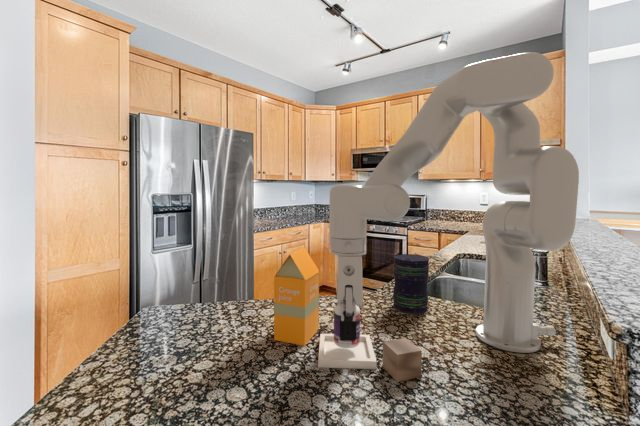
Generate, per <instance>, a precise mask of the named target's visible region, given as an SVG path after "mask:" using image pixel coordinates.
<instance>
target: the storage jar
mask: <svg viewBox="0 0 640 426" xmlns="http://www.w3.org/2000/svg"><path fill="white" fill-rule="evenodd" d="M393 258H394V260H393V261H394V262H393V275H394V276H393V277H394V285H393V286H394V287H393V293H392V298H393V299H392V300H393V304H392V307H393V309H394V310H396V311H398V312H400V313H404V314H408V315H420V314H422V315H423V314H425V313H427V312H428V303H429V290H428V279H429V276H430V275H429V274H430V273H429V272H430V267H429V265H430V263H429V261H430V258H429V257H428V256H425V255H419V254H413V253H412V254H410V253H408V254H407V253H404V254H403V253H401V254H396V255H394V257H393Z"/></svg>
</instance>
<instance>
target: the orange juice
mask: <svg viewBox="0 0 640 426" xmlns="http://www.w3.org/2000/svg"><path fill="white" fill-rule="evenodd" d="M319 290H320V270H319V268H318V266H317V265H316V264H315V262H314V260H313V258H312V257H311V255H310V253H309V251H308V250H307V249H306V247H302V248H299V249H297V250H294V251H292V252H289V254H288V256H287V257H286V258H285V260H284V262H283V263H282V265H281V266H280V268H279V269H278V271H277V272H276V274H275V275H274V276H273V327H274V328H273V334H274V335H273V337H274V338H273V340H274V341H277V342H284V343H289V344H293V345H298V346H304V347H305V346H306V345H307V344H308V343H309V342H310V340H311V339H312V338H313V337H314V336H315V335H316V333H318V331H319V330H320V329H319V327H320V326H319V325H320V324H319V323H320V320H319V319H320V317H319V316H320V315H319V313H320V312H319V311H320V310H319V307H320V291H319ZM318 329H319V330H318ZM317 330H318V331H317Z"/></svg>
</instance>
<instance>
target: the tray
mask: <svg viewBox="0 0 640 426" xmlns="http://www.w3.org/2000/svg"><path fill="white" fill-rule="evenodd" d="M319 335H320V336H319V345H318V347H319V348H318V360H317V368H326V369H327V368H328V369H358V370H362V369H363V370H377V365H378V364H377V362H378V361H377V358H376V354H375V351H374V350H375V349H374V346H373V343H372V340H371V336H370V334H360V343H359V345H358V346H356V347H354V348H342V347H339V346H337V345H336V344H335V343H334V333H320V334H319Z"/></svg>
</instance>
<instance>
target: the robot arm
mask: <svg viewBox="0 0 640 426" xmlns="http://www.w3.org/2000/svg"><path fill="white" fill-rule="evenodd" d="M554 72H555V70H554V66H553V64H552V62H551V61H550V59H549V58H548V57H547V56H546V55H544V54H542V53H539V52H535V51H533V52H532V51H531V52H530V51H528V52H521V53H516V54H512V55H508V56H507V55H506V56H501V57H496V58H491V59H486V60H482V61H478V62H473V63H469V64H468V65H465V66H464V67H461V68H460V69H459V70H457V71H456V72H453V73H452V74H451V75H449V76H448V77H446V78H445V79H444V80H442V81H441V82H439V83H438V84H437V85H436V86H435V87H434V89H433V90H432V91H431V93H430V94H429V96H428V97H427V98H426V100H425V102H424V104H423V105H422V106H421V108H420V109H419V111H418V112H417V114H416V116H415V117H414V119H413V120H412V121H411V122H410V125H409V126H408V128H407V129H406V130H405V131H404V134H403V135H402V136H401V137H400V138H399V139H398V140H397V142H395V144H394V146H392V148H391V149H390V150H389V151H388V152H387V154H386V155H385V156H384V157H383V159H381V161H380V162H378V164H377V166H376V167H375V168H374V170H373V171H372V173H371V174H370V175H369V177H368V179H367V180H366V182H365V183H364V185H362V184H335V185H333V186H332V187H331V188H330V190H329V221H328V222H329V228H328V229H329V233H328V234H329V236H328V237H329V239H328V240H329V245H328V246H329V249H328V251H329V254H331V255H332V256H334V265H335V266H334V269H335V271H334V272H335V273H334V274H335V277H334V278H335V279H334V280H335V290H336V291H335V292H336V301H337V300H338V303H337V305H338V304H339V305H340V306H341V319H340V340H343V341H355V340H356V320H355V302H356V306H358V307H359V308H360V307H363V305H364V296H363V258H362V256H365V255H367V241H368V240H367V239H368V238H367V237H368V236H367V235H368V234H367V230H368V229H367V228H368V225H367V224H368V221H367V220H371V221H373V220H374V221H381V222H394V221H395V222H396V221H398V220H400V219H402V218H403V217H405V215H406V214H407V213H408V211H409V210H410V207H411V199H410V198H411V197H410V196H409V193H408V192H407V191H406V189H405V188H403V187H402V186H403V184H405V182H406V181H408V180H409V179H410V178H411V177H412V176H413V175H414V174H415V173H417V172H419V171H420V170H422V169H423V168H425V167H427V166H429V165H430V164H431V163H433V162H434V161H435V160H436V159H437V158H438V157H439V156H440V155H441V153H442V152H443V151H444V149H445V148H446V146H447V145H448V143H449V141H450V140H451V138H452V137H453V135H454V134H455V132H456V130H457V129H458V128H459V126H460V124H461V123H462V121H463V120H464V119H465V117H467V116H468V115H470V114H473V113H475V112H477V111H478V112H479V114H481V115H482V116H483V117H484V118H485V119H486V120H487V121H488V123H489V124H490V126H491V128H492V129H493V134H494V135H493V137H494V142H493V144H494V147H493V148H494V149H493V161H492V162H493V164H492V184H493V186H494V188H495V190H496V191H497V192H499V193H501V194H503V195H508V196H509V195H511V196H529V201H525V200H505V201H500V202H497V203H495V204H492V205H491V206H490V207H488V209H486V211H485V212H484V215H483V217H482V222H481V223H482V232H483V237H484V244H485V245H484V246H485V272H484V295H483V296H484V299H483V301H484V303H483V323H482V324H479V325H477V326H476V328H475V335H476V337H477V338H478V339H479V340H481V341H482V342H484V343H485V344H486V345H489V346H492V347H494V348H497V349H499V350H503V351H508V352H512V353H521V354H531V353H534V352H538V351H539V350H540V349H541V345H542V344H541V343H542V342H541V340H540V339H539V338H538V337H541V336H542V335H543V336H556V334H557V333H556V328H555V327H554V326H551V325H544V326H543V325H542V324H541V323H540V322H534V307H535V306H534V305H535V304H534V303H535V288H536V287H535V285H536V282H535V281H536V270H537V269H536V268H537V267H536V260H535V258H534V254H533V252H532V249H535V250H540V251H546V252H547V251H548V252H549V251H550V252H551V251H558V250H560V249H562V248H565V246H567V245H568V244H569V242H570V241H571V239H572V237H573V235H574V232H575V228H576V221H577V220H576V218H577V208H578V207H577V206H578V197H579V196H578V195H579V183H580V181H579V180H580V179H579V177H580V171H579V166H578V163H577V160H576V158H575V157H574V155H573V154H572V153H571V152H570V151H569V150H568V149H566V148H565V147H561V146H556V145H547V146H541V125H540V122H539V120H538V118H537V116H536V114H535V113H534V112H533V111H532V109H530V108H529V107H528V106H527V105H526V104H525V103H526V102H529V101H532V100H534V99H536V98H538V97H540V96H541V95H543V94H544V93H546V91H547V90H548V89H549V88H550V86H551V85H552V84H553V83H552V82H553V80H554V74H555V73H554ZM343 301H346V304H343ZM352 301H353V304H352ZM344 308H346V310H344Z"/></svg>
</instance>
